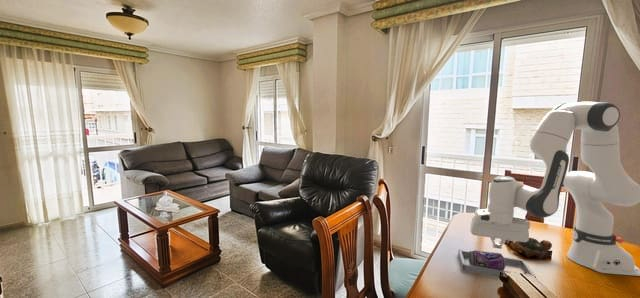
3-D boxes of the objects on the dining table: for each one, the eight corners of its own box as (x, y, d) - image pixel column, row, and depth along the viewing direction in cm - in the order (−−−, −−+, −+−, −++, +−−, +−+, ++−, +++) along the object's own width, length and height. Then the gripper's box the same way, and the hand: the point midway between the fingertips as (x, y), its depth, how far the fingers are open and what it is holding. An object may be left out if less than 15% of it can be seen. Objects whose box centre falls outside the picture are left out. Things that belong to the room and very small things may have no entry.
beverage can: (508, 266, 106) (474, 262, 109) (503, 275, 110) (470, 270, 113) (502, 250, 111) (470, 246, 114) (498, 259, 116) (467, 255, 119)
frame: (523, 265, 115) (523, 259, 115) (535, 283, 103) (536, 277, 103) (458, 254, 124) (458, 249, 123) (462, 270, 112) (462, 264, 111)
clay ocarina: (556, 262, 117) (557, 245, 116) (515, 259, 122) (516, 243, 120) (545, 250, 126) (546, 234, 125) (507, 248, 131) (508, 232, 129)
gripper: (527, 216, 109) (524, 248, 111) (470, 210, 116) (468, 240, 118) (533, 222, 104) (529, 256, 105) (473, 215, 110) (470, 247, 112)
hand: (496, 247), depth 112 cm, fingers closed
